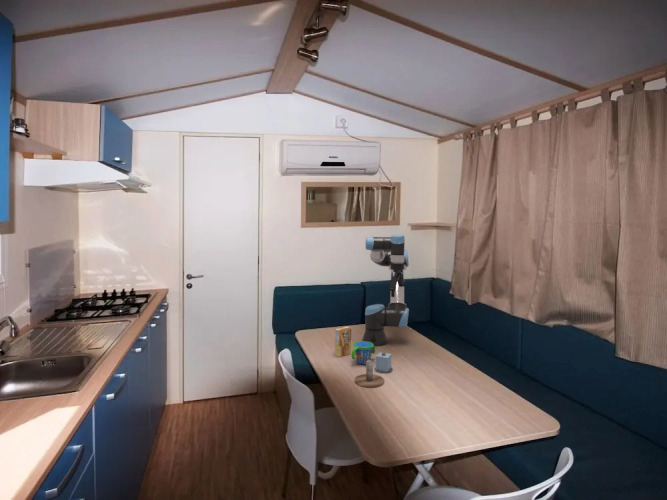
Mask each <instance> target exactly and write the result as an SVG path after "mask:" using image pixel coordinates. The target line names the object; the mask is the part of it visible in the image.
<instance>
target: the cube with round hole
mask: <svg viewBox="0 0 667 500" xmlns="http://www.w3.org/2000/svg"><path fill="white" fill-rule="evenodd" d="M375 367H376V370H379V371H385V372H388V371H389V370H390V369H391V368H392V354H391V353H387V352H379V353H378V354H376V355H375Z"/></svg>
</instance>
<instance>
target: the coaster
mask: <svg viewBox="0 0 667 500" xmlns="http://www.w3.org/2000/svg"><path fill="white" fill-rule="evenodd" d="M374 371H375V372H376V373H379V374H390V373H392V372H393V367H391V369H390V370H389V371H388V372H385V371H379V370H376V366H375V367H374Z"/></svg>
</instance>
